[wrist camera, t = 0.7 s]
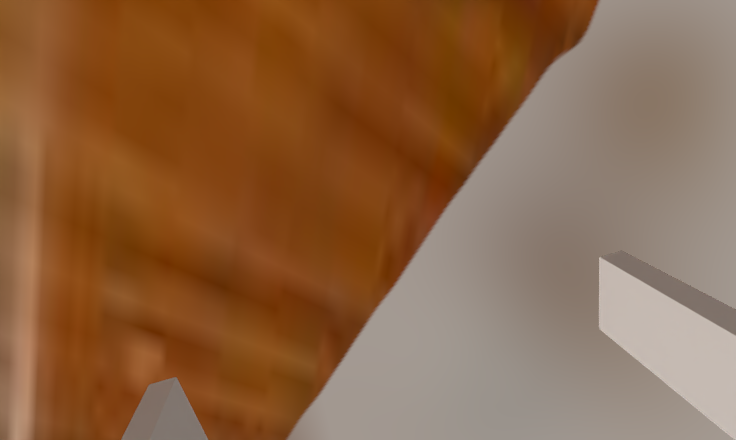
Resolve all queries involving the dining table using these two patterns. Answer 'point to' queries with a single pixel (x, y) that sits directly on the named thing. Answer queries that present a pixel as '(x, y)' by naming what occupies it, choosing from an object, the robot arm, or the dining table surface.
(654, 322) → the robot arm
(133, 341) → the dining table surface
